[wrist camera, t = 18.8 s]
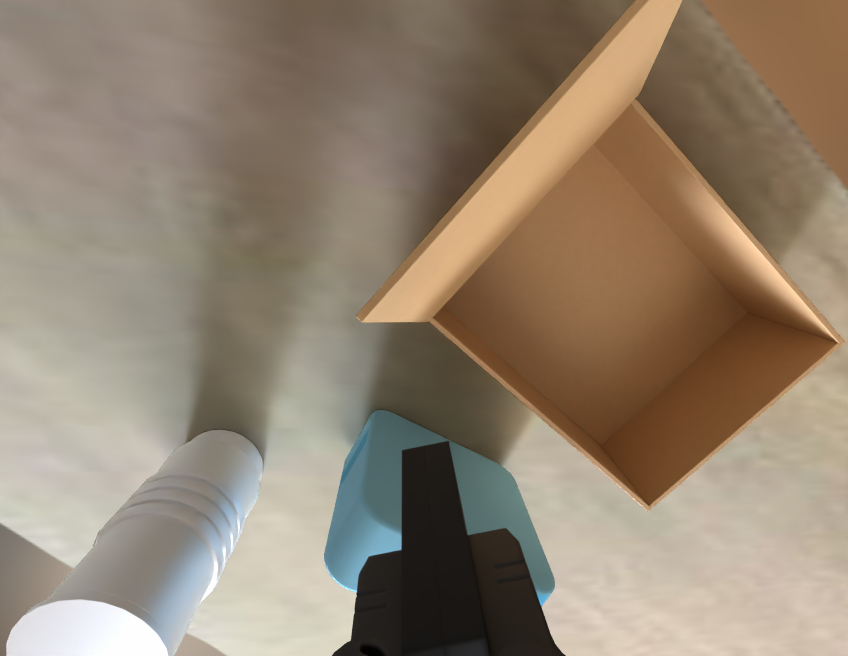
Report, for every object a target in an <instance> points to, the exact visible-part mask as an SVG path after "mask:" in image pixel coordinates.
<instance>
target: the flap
mask: <svg viewBox="0 0 848 656" xmlns="http://www.w3.org/2000/svg"><path fill="white" fill-rule="evenodd" d="M681 2H682V0H635V1H634V3H633V4H632V5H631V6H630V7H629V8H628V9H627V10H626V12H625V13H624V14H623V15H622V16H621V17H620V18H619V19H618V21H617V22H616V23H615V24H614V25H613V26H612V27H611V28H610V30H609V31H608V32H607V33H606V34H605V35H604V36H603V38H602V39H601V40H600V41H599V42H598V43H597V44H596V45H595V47H594V48H593V49H592V50H591V51H590V52H589V53H588V54H587V56H586V57H585V58H584V59H583V60H582V61H581V62H580V63H579V65H578V66H577V67H576V68H575V69H574V70H573V71H572V72H571V74H570V75H569V76H568V77H567V78H566V79H565V80H564V82H563V83H562V84H561V85H560V86H559V87H558V88H557V89H556V91H555V92H554V93H553V94H552V95H551V96H550V97H549V98H548V100H547V101H546V102H545V103H544V104H543V105H542V106H541V107H540V109H539V110H538V111H537V112H536V113H535V114H534V115H533V116H532V118H531V119H530V120H529V121H528V122H527V123H526V124H525V126H524V127H523V128H522V129H521V130H520V131H519V132H518V133H517V135H516V136H515V137H514V138H513V139H512V140H511V141H510V142H509V144H508V145H507V146H506V147H505V148H504V149H503V150H502V151H501V153H500V154H499V155H498V156H497V157H496V158H495V159H494V160H493V162H492V163H491V164H490V165H489V166H488V167H487V168H486V170H485V171H484V172H483V173H482V174H481V175H480V176H479V177H478V179H477V180H476V181H475V182H474V183H473V184H472V185H471V186H470V188H469V189H468V190H467V191H466V192H465V193H464V194H463V195H462V197H461V198H460V199H459V200H458V201H457V202H456V203H455V204H454V206H453V207H452V208H451V209H450V210H449V211H448V212H447V214H446V215H445V216H444V217H443V218H442V219H441V220H440V221H439V223H438V224H437V225H436V226H435V227H434V228H433V229H432V230H431V232H430V233H429V234H428V235H427V236H426V237H425V238H424V239H423V241H422V242H421V243H420V244H419V245H418V246H417V247H416V248H415V250H414V251H413V252H412V253H411V254H410V255H409V256H408V258H407V259H406V260H405V261H404V262H403V263H402V264H401V265H400V267H399V268H398V269H397V270H396V271H395V272H394V273H393V274H392V276H391V277H390V278H389V279H388V280H387V281H386V282H385V283H384V285H383V286H382V287H381V288H380V289H379V290H378V291H377V292H376V294H375V295H374V296H373V297H372V298H371V299H370V300H369V302H368V303H367V304H366V305H365V306H364V307H363V308H362V309H361V311H360V312H359V313H358V314H357V315H356V317H357V318H358V319H359V320H360V321H361V322H428V321H429V320H430V319H431V318H432V317H433V316H434V315H435V314H436V313H437V311H438V310H439V309H440V308H441V307H442V306H443V305H444V304H445V303H446V302H447V301H448V300H449V299H450V297H451V296H452V295H453V294H454V293H455V292H456V291H457V290H458V289H459V288H460V287H461V286H462V285H463V283H464V282H465V281H466V280H467V279H468V278H469V277H470V276H471V275H472V274H473V273H474V272H475V271H476V269H477V268H478V267H479V266H480V265H481V264H482V263H483V262H484V261H485V260H486V259H487V258H488V257H489V255H490V254H491V253H492V252H493V251H494V250H495V249H496V248H497V247H498V246H499V245H500V244H501V243H502V241H503V240H504V239H505V238H506V237H507V236H508V235H509V234H510V233H511V232H512V231H513V230H514V228H515V227H516V226H517V225H518V224H519V223H520V222H521V221H522V220H523V219H524V218H525V217H526V216H527V214H528V213H529V212H530V211H531V210H532V209H533V208H534V207H535V206H536V205H537V204H538V203H539V202H540V200H541V199H542V198H543V197H544V196H545V195H546V194H547V193H548V192H549V191H550V190H551V189H552V188H553V186H554V185H555V184H556V183H557V182H558V181H559V180H560V179H561V178H562V177H563V176H564V175H565V174H566V172H567V171H568V170H569V169H570V168H571V167H572V166H573V165H574V164H575V163H576V162H577V161H578V160H579V158H580V157H581V156H582V155H583V154H584V153H585V152H586V151H587V150H588V149H589V148H590V147H591V145H592V144H593V143H594V142H595V141H596V140H597V139H598V138H599V137H600V136H601V135H602V134H603V133H604V131H605V130H606V129H607V128H608V127H609V126H610V125H611V124H612V123H613V122H614V121H615V120H616V119H617V117H618V116H619V115H620V114H621V113H622V112H623V111H624V110H625V109H626V108H627V107H628V106H629V105H630V103H631V102H632V101H633V100H634V99H635V98H636V97H637V96H638V95H639V94H640V92H641V89H642V87H643V85H644V83H645V81H646V79H647V76H648V74H649V72H650V70H651V68H652V65H653V63H654V61H655V59H656V57H657V55H658V52H659V50H660V48H661V46H662V44H663V41H664V39H665V37H666V35H667V33H668V31H669V28H670V26H671V24H672V22H673V20H674V17H675V15H676V13H677V11H678V9H679V7H680V4H681Z"/></svg>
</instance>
